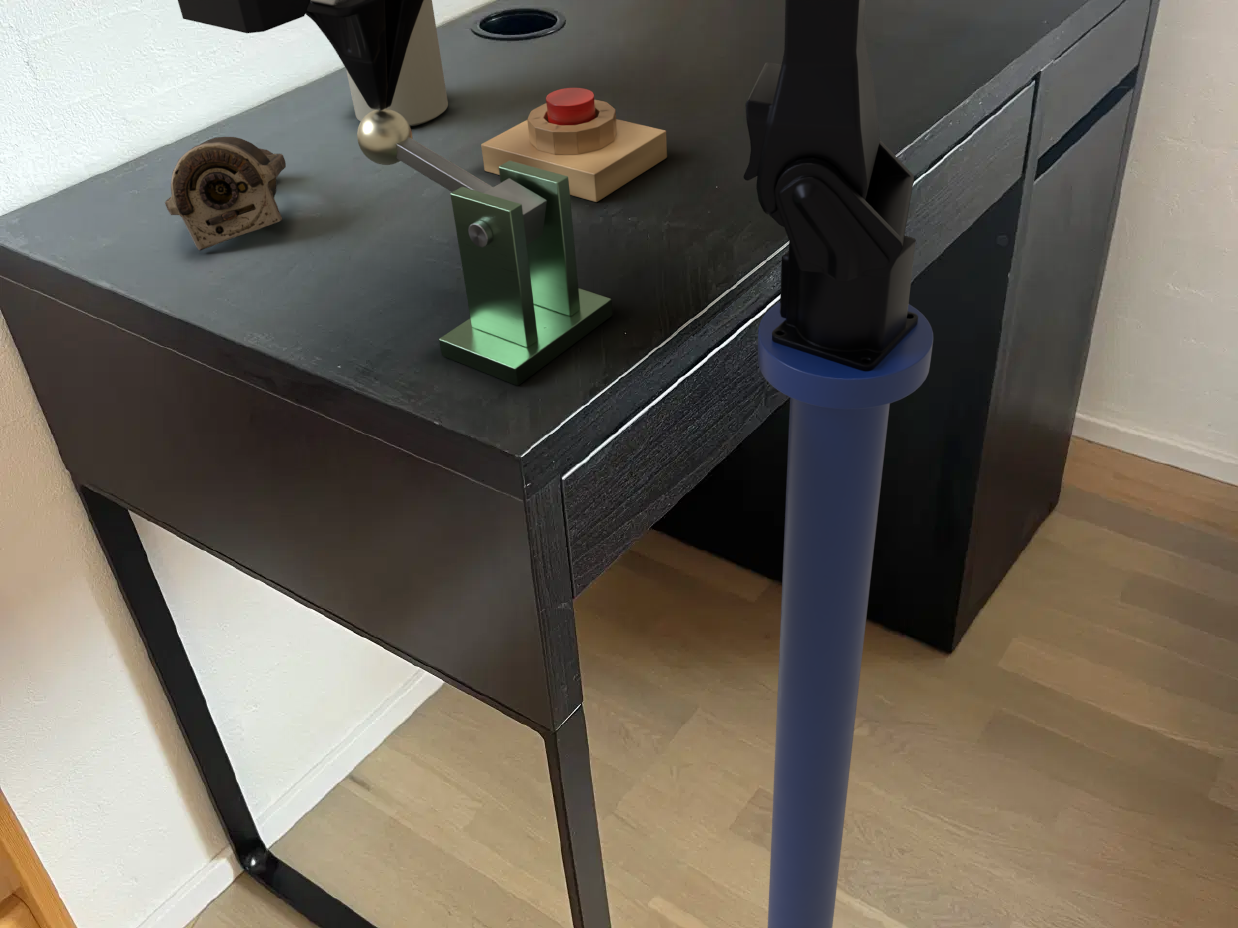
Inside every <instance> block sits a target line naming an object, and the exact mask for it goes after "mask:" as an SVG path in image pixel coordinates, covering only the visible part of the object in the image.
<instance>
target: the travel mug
mask: <svg viewBox="0 0 1238 928" xmlns="http://www.w3.org/2000/svg"><path fill="white" fill-rule="evenodd" d="M434 10H435V9H434V4H433V0H424V1H423V4H422V6H421V9H420V12H419V15H418V17H417V20H416V23H415V26H414V28H413V31H412V34H411V37H410V41H409V44H408V48H407V50H406V54H405V58H404V61H403V65H402V68H401V72H400V76H399V79H398V83H397V86H396V90H395V94H394V97H393V101H392V104H391V106H390V107H388V108H385V109H390V110H393V111H396V112H397V113H399V114H400V115H402V116H403V117H404V118H405V119H406V121H407V122H408V124H409V125H410V127H415V126H419V125H422V124H425V123H428V122H430V121H432V120H434V119H436V118H437V117H439V116H440V115H442V114H443V113H444V112H445V111H446V110H447V108H448V106H449V101H448V95H447V94H448V93H447V88H446V81H445V75H444V70H443V68H444V67H443V63H442V57H441V50H440V49H441V48H440V43H439V37H438V29H437V23H436V19H435V11H434ZM345 70H346V75H347V81H348V86H349V90H350V94H351V99H352V104H353V109H354V114H355V117H356V119H357V120H358V121H359V122H361V121H362V119H363V118H364V117H365V116H366V115H367V114H368V113H370V112H372V111H374V110H375V109H371V108H370V107H369V106H368V105H367V103H366V101H365V100H364V98H363V96H362V95H361V93H360V91H359V90H358V88H357V86H356V85H355V83H354V81H353V80H352V78H351V76H350V74H349V73H348V71H347V69H346V68H345Z"/></svg>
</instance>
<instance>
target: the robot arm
mask: <svg viewBox="0 0 1238 928" xmlns="http://www.w3.org/2000/svg"><path fill="white" fill-rule="evenodd" d="M423 1H424V0H177V3H178V6H179V10H180V13H181V17H182V19H183V20H186V21H191V22H196V23H198V24H199V23H200V24H203V25H209V26H213V27H218V28H221V29H225V30H231V31H235V32H240V33H244V34H254V33H263V32H266V31H269V30H272V29H275V28H277V27H279V26H282V25H286V24H287V23H291V22H293V21H295V20H299V19H300V18H304V17H305V16H307V17H308V18H310V19H311V20H312V21H313V22H314V23H315V25H316V26H317V27H318V29H319V30H320V31H321V33H322V34H323V35H324V36H325V38H326V39H327V41H328V42H329V43H330V45H331V46H332V48H333V50H334V52H335V53H336V54H337V56H338V58H339V59H340V61H341V63H342V65H343V66H344V68H345V70H346V69H347V71H348V73H349V74H350V76H351V78H352V80H353V81H354V83H355V85H356V86H357V88H358V90H359V91H360V93H361V95H362V96H363V98H364V100H365V101H366V103H367V105H368V106H369V107H370V108H371V109H375V110H378V111H382V110H384V109H385V108H388V107H390V106H391V104H392V101H393V97H394V94H395V90H396V86H397V83H398V79H399V76H400V72H401V68H402V65H403V61H404V58H405V54H406V50H407V48H408V44H409V41H410V37H411V34H412V31H413V28H414V26H415V23H416V20H417V17H418V15H419V12H420V9H421V6H422V4H423ZM784 2H785V4H784V47H783V49H784V50H783V56H782V59H781V64H778V63H773V62H769V61H767V62H765V63H764V65H763V66H762V68H761V70H760V73H759V75H758V77H757V79H756V82H755V83H754V85H753V87H752V90H751V91H750V94H749V96H748V98H747V100H746V102H745V118H746V119H745V120H746V126H747V131H748V137H749V142H750V143H749V144H750V155H749V162H748V165H747V166H746V169H745V172H744V174H743V179H744V180H745V181H747V182H748V181H751V180H753V179H754V178H756V185H755V186H756V194H757V198H758V200H757V201H758V202H759V204H760V206H761V210H762V211H763V212H764V213H765V214H766V215H769V216H770V217H771V218H772V219H773V221H775V222H776V223H777V225H779V226H781V227H783V228H784V230H785V233H786V235H787V239H788V251H787V252H785V253H784V254H783V255H782V256H781V260H780V261H781V264H780V290H779V291H780V293H779V294H780V295H779V296H780V297H779V302H780V315H781V317H782V318H785V319H786V320H785V321H784V322H782V323H781V324H780V325H779V326H778V327H777V328H776V329H775V330H773V332H772V341H773V342H775V343H778V344H781V345H784V346H787V347H790V348H793V349H796V350H799V351H802V352H805V353H808V354H811V355H815V356H818V357H821V358H824V359H827V360H830V361H833V362H836V363H839V364H842V365H845V366H848V367H851V368H855V369H858V370H861V371H872V370H873V369H874V368H875V367H876V366H877V365H878V364H879V363H880V362H881V361H882V360H883V359H884V358H885V357H886V356H887V355H888V354H889V353H890V352H891V351H892V350H893V349H894V348H895V347H896V346H897V345H898V344H899V342H900V341H901V340H902V339H903V338H904V337H905V336H906V335H907V334H908V333H909V332H910V331H911V330H912V329H913V328H914V327H915V326H916V325H917V323H918V315H917V314H915V313H912V312H909V311H908V304H910V303H909V302H910V292H911V286H912V278H913V277H912V276H913V266H914V260H915V259H914V258H915V250H916V241H917V239H916V238H914V237H912V236H909V235H908V236H907V235H906V228H907V223H908V218H909V213H910V212H909V211H910V205H911V200H912V194H913V188H914V182H915V177H914V176H915V175H914V174H913V173H912V172H911V170H910V169H909V168H907V166H906V165H905V164H904V163H903V162H902V161H901V160H900V159H899V158H898V157H897V156H896V155H895V153H894V152H893V151H892V150H891V149H890V148H889V147H888V146H886V144H885V143H884V142H883V141H882V140H881V138H880V137H881V136H880V123H879V117H878V106H877V105H878V104H877V96H876V87H875V80H874V76H873V71H872V66H871V61H870V57H869V52H868V48H867V47H868V46H867V42H866V36H865V19H866V17H865V15H866V3H867V2H866V0H785V1H784ZM347 71H346V72H347Z"/></svg>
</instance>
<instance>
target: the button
mask: <svg viewBox="0 0 1238 928" xmlns="http://www.w3.org/2000/svg"><path fill="white" fill-rule="evenodd" d="M594 99H595V94H594V92H593V91H592V90H590V89H587V88H583V87H566V88H560V89H557V90H554V91H552V92H550V93H548V94H547V95H546V97H545V103H546V104H547V114H548V122H549V123H552V124H556V125H578V124H583V123H587V122H590V121H592V120H593V119H595V118H596V114H595V100H596V99H595V100H594Z"/></svg>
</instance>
